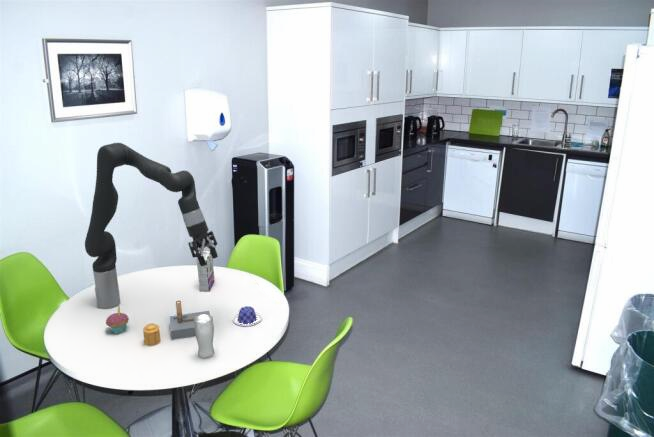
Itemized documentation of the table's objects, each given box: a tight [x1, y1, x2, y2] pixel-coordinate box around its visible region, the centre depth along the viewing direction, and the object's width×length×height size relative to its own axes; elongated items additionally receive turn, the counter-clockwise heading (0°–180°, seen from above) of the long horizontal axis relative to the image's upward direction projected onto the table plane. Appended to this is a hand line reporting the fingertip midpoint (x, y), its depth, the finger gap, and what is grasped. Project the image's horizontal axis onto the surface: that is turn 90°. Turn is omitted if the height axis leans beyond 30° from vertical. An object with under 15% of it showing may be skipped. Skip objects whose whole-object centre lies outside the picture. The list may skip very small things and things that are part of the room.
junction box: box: [169, 310, 211, 341], centre depth 211 cm, size 16×12×5 cm
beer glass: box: [194, 314, 215, 359], centre depth 192 cm, size 7×7×15 cm
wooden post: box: [175, 300, 183, 323], centre depth 208 cm, size 2×2×9 cm
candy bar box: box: [196, 250, 215, 292], centre depth 246 cm, size 11×5×16 cm, turn 179°
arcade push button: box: [142, 323, 161, 347], centre depth 202 cm, size 6×6×7 cm
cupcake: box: [105, 305, 130, 334], centre depth 209 cm, size 9×8×12 cm
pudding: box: [232, 305, 262, 327], centre depth 219 cm, size 12×12×5 cm
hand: (209, 261), depth 201 cm, fingers open, 8 cm apart
